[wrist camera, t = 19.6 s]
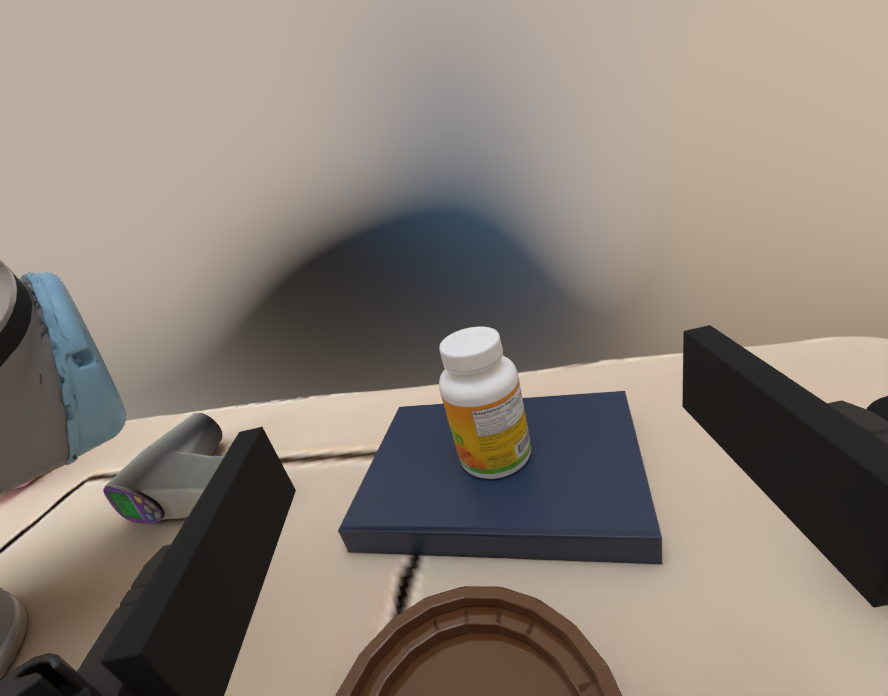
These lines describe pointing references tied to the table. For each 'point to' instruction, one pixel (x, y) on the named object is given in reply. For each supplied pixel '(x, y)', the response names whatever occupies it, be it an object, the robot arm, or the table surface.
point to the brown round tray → (479, 651)
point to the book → (512, 489)
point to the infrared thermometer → (168, 473)
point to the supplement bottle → (483, 404)
